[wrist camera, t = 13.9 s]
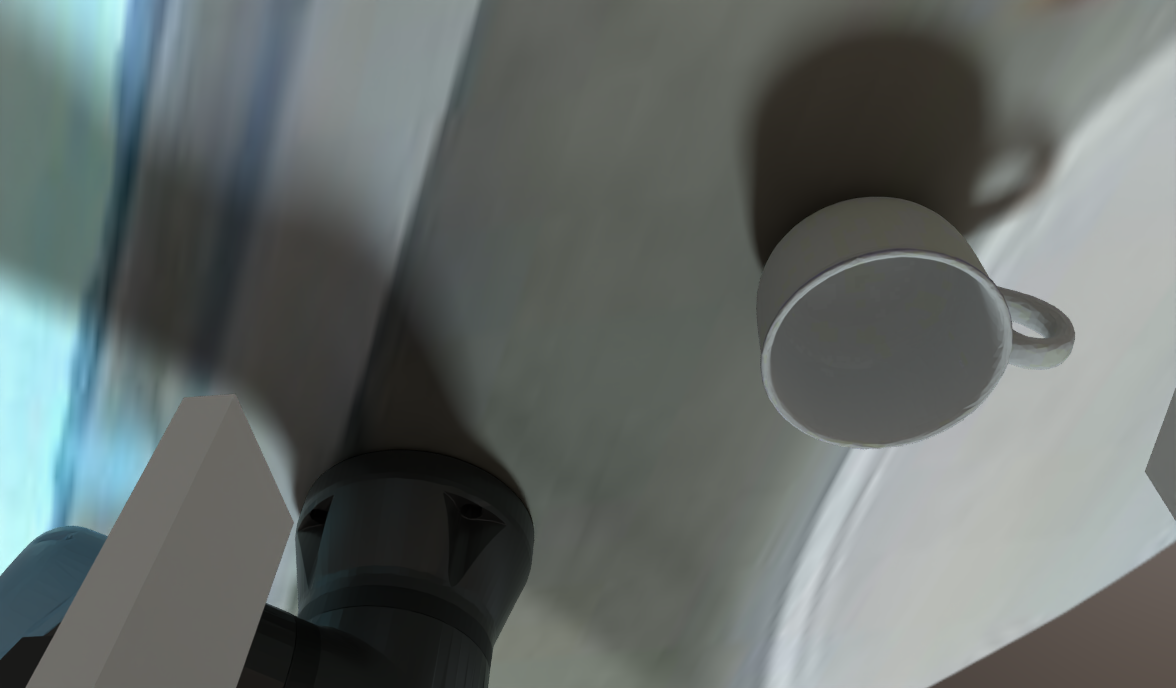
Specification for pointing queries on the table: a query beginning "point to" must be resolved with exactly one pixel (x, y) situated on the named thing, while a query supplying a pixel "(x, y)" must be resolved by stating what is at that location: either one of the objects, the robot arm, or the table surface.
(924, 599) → the table surface
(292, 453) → the table surface
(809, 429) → the teacup
